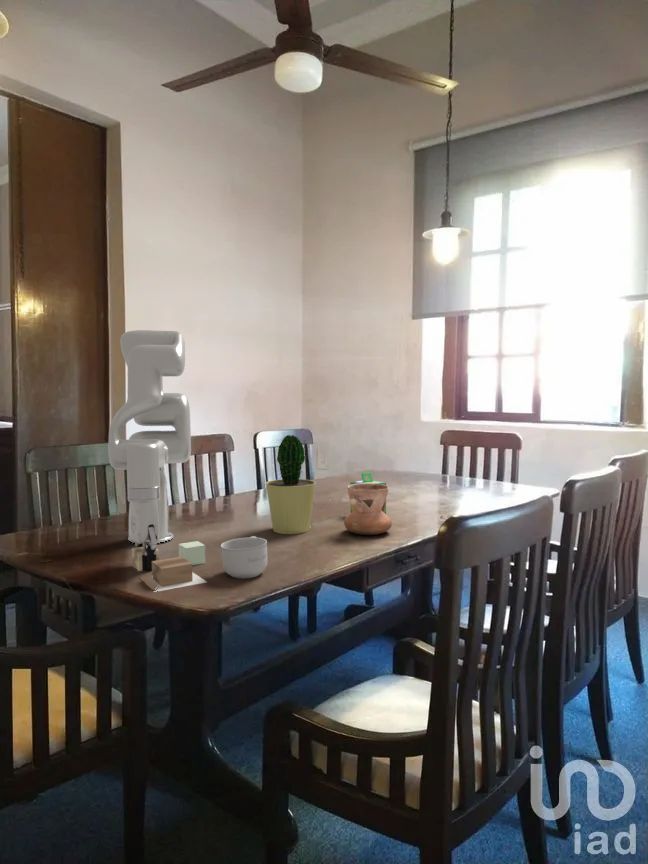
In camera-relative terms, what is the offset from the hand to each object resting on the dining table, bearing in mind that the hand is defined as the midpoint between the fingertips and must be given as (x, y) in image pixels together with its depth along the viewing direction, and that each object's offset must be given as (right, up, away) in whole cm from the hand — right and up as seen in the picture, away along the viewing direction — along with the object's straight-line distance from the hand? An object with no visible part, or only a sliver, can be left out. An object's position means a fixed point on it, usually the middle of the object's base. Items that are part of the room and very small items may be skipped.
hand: (145, 567), depth 149 cm
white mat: (+9, -1, -10) cm, 13 cm away
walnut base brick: (+9, -1, -10) cm, 13 cm away
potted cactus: (+33, +2, +41) cm, 53 cm away
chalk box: (+59, +4, +62) cm, 85 cm away
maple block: (0, -1, 0) cm, 1 cm away
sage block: (+10, 0, +4) cm, 11 cm away
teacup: (+25, -1, -4) cm, 26 cm away
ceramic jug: (+57, +2, +37) cm, 68 cm away
